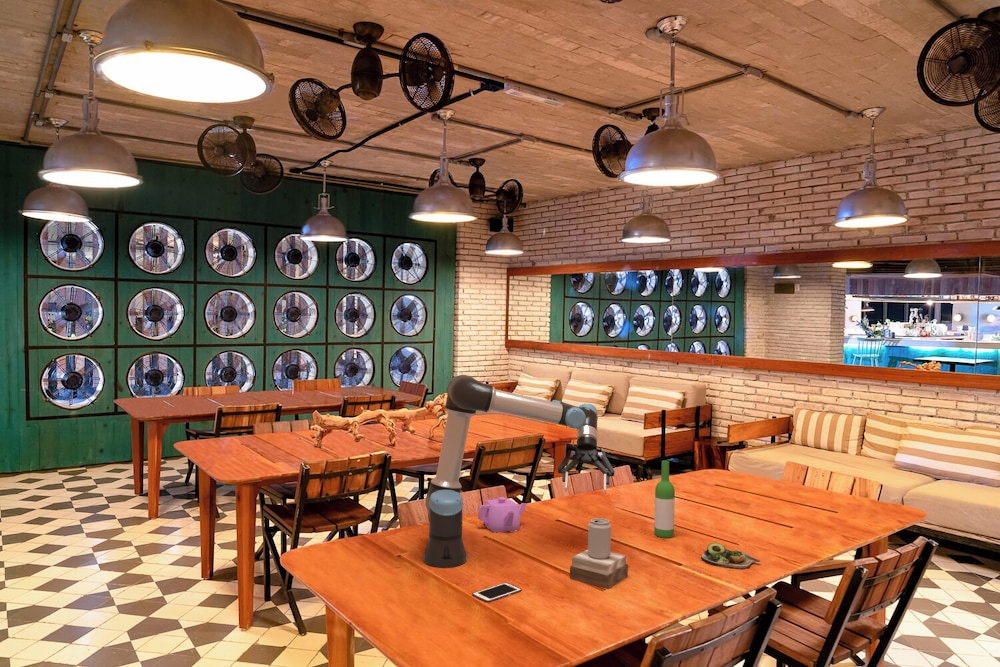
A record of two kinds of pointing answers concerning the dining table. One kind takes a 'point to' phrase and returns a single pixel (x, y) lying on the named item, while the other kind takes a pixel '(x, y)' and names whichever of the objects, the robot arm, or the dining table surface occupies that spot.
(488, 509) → the teakettle
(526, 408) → the robot arm
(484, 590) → the cell phone
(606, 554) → the can
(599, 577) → the plinth
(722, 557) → the salad plate
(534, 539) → the dining table surface
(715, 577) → the dining table surface
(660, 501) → the wine bottle
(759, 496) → the dining table surface
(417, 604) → the dining table surface
